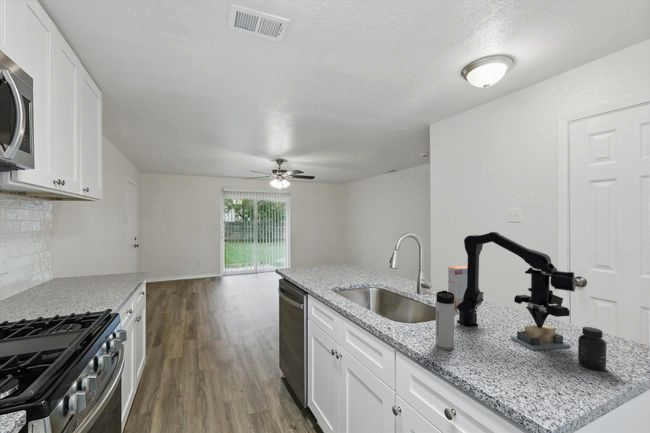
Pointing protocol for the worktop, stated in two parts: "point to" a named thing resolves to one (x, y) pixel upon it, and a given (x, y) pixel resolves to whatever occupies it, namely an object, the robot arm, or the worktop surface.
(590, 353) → the supplement bottle
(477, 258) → the robot arm
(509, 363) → the worktop surface
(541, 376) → the worktop surface
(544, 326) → the slat
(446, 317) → the travel mug
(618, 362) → the worktop surface
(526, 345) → the board
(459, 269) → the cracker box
